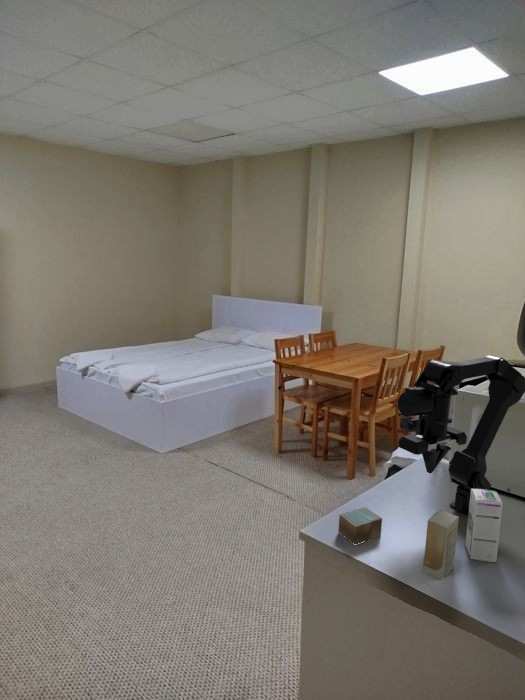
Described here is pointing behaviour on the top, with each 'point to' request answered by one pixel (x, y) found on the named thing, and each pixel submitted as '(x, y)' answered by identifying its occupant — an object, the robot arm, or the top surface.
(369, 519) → the walnut block
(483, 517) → the syrup box
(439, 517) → the skincare box
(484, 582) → the top surface
